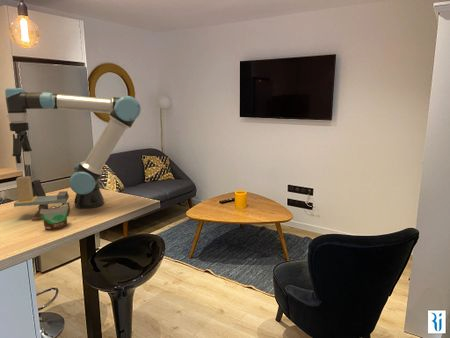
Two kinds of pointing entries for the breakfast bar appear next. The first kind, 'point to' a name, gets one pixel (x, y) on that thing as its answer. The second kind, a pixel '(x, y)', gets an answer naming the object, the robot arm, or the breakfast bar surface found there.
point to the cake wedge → (55, 217)
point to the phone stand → (37, 188)
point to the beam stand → (45, 206)
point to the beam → (45, 200)
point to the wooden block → (24, 188)
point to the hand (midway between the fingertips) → (24, 167)
